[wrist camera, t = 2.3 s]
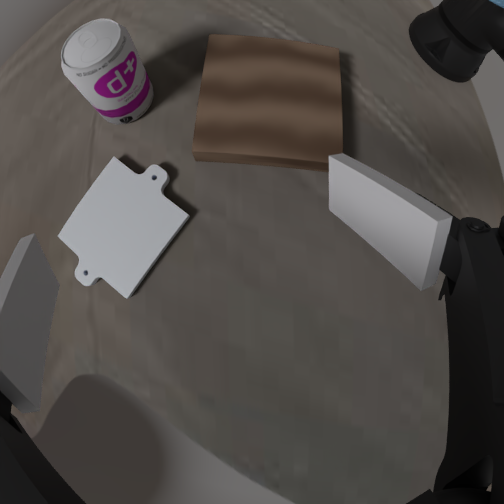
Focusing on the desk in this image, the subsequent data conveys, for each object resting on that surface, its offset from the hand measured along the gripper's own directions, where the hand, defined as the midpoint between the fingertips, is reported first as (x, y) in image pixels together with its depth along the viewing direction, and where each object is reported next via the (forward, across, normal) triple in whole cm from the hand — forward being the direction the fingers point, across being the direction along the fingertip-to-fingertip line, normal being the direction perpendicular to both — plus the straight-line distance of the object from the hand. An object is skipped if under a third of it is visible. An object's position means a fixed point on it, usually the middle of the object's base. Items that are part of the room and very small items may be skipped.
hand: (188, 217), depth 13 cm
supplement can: (+36, -3, +3) cm, 37 cm away
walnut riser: (+30, +15, -1) cm, 34 cm away
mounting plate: (+27, -7, -12) cm, 31 cm away
